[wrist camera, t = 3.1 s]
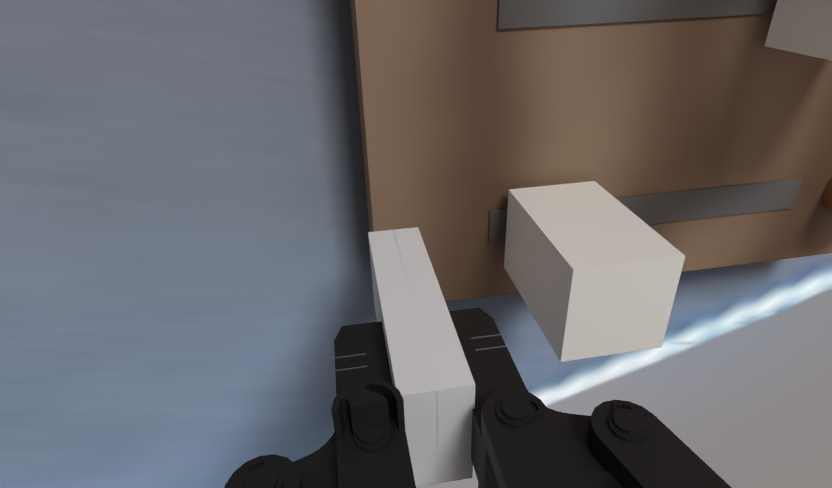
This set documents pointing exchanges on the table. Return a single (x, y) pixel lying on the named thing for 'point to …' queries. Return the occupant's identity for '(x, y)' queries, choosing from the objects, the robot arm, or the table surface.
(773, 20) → the switch
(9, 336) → the table surface
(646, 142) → the switch unit
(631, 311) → the switch
